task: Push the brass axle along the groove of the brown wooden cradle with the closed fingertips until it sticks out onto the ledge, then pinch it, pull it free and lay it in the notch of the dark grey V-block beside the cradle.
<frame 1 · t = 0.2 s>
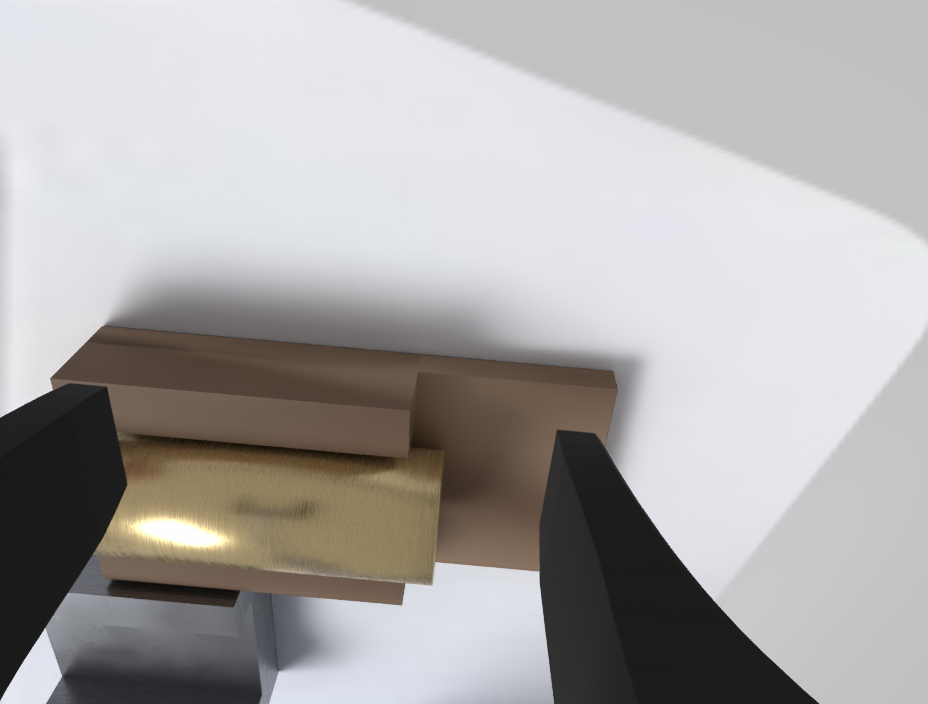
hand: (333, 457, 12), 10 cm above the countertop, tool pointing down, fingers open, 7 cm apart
brass axle: (242, 499, 22), point 3 cm above the countertop, touching brown wooden cradle
v block: (172, 598, 29), on the countertop
brown wooden cradle: (328, 446, 24), on the countertop
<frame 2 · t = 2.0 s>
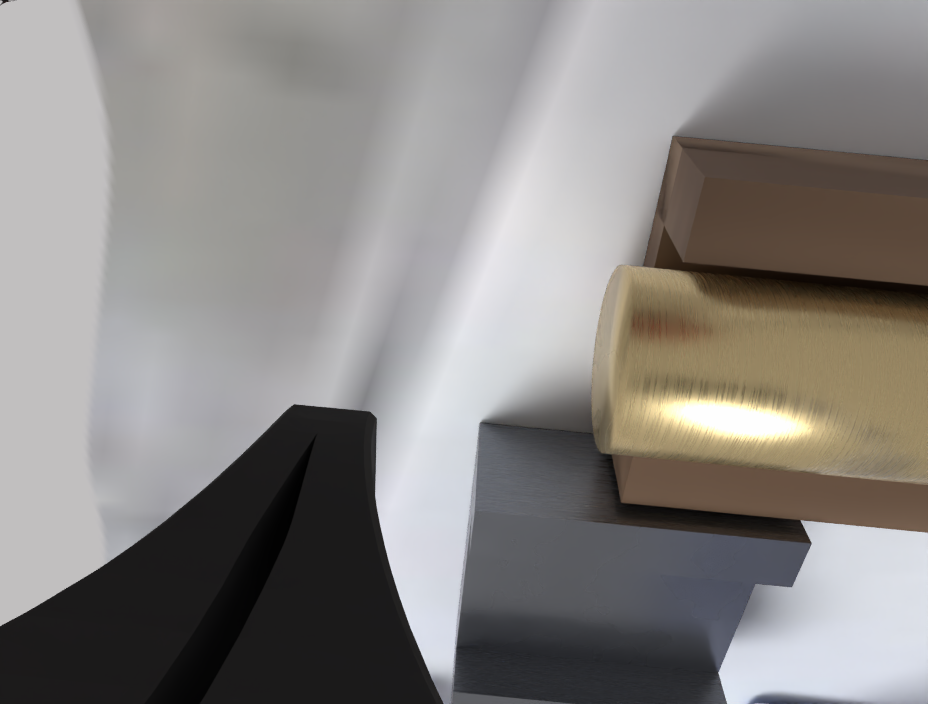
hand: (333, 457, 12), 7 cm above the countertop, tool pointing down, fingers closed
brass axle: (891, 386, 15), point 3 cm above the countertop, touching brown wooden cradle
v block: (596, 546, 22), on the countertop
brown wooden cradle: (917, 325, 18), on the countertop
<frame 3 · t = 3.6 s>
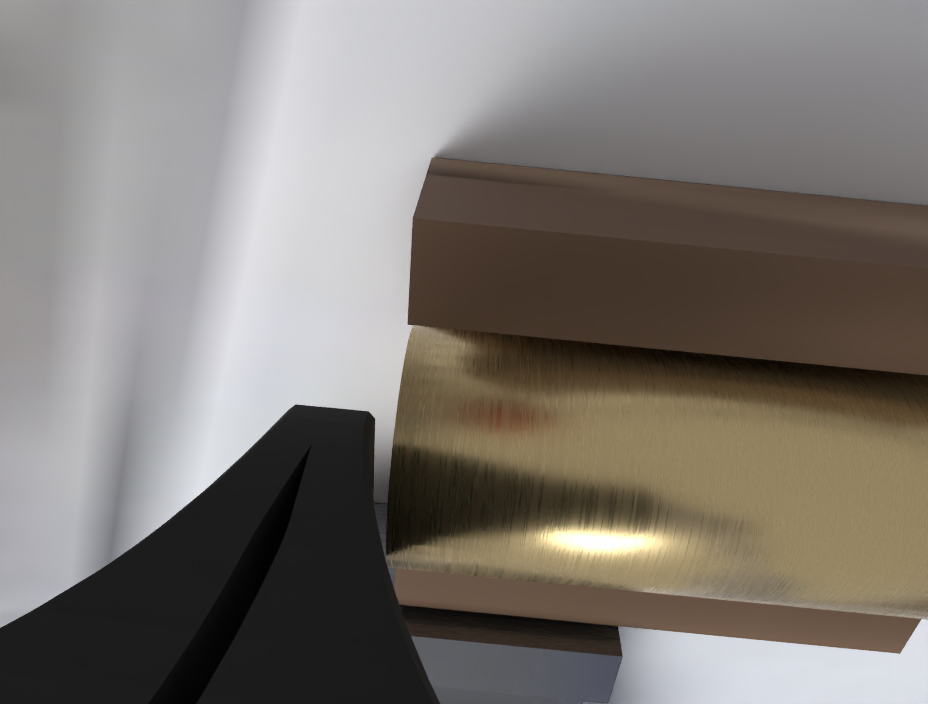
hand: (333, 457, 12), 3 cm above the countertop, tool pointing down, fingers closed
brass axle: (759, 478, 12), point 3 cm above the countertop, touching gripper, brown wooden cradle
v block: (422, 628, 19), on the countertop
brown wooden cradle: (761, 385, 15), on the countertop
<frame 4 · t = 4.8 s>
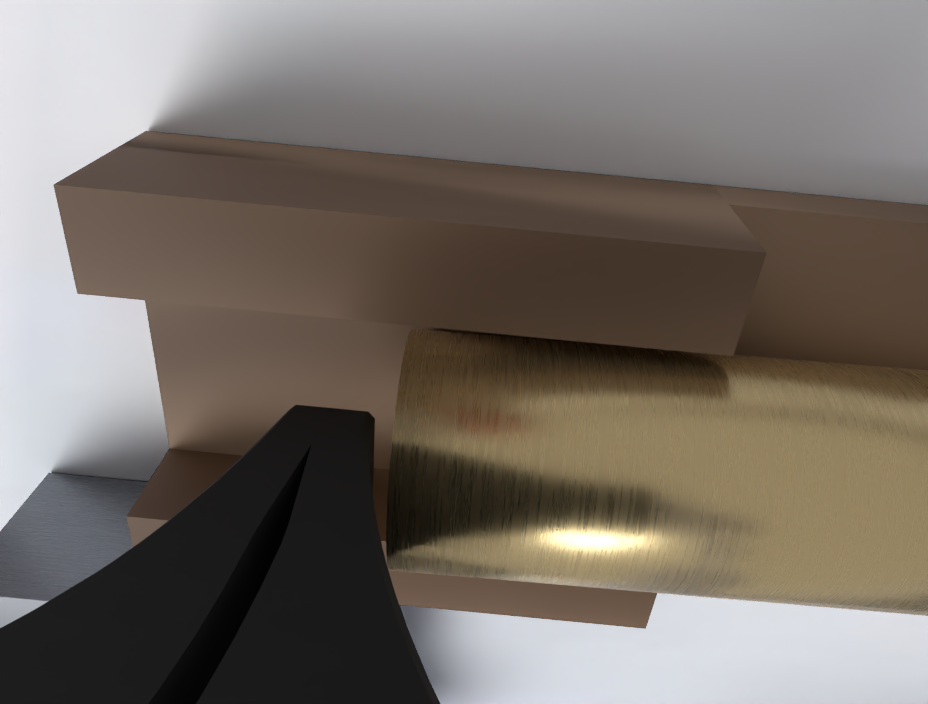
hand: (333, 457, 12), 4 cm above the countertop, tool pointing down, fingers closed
brass axle: (759, 476, 12), point 3 cm above the countertop, touching gripper, brown wooden cradle
v block: (233, 610, 19), on the countertop
brown wooden cradle: (516, 362, 15), on the countertop
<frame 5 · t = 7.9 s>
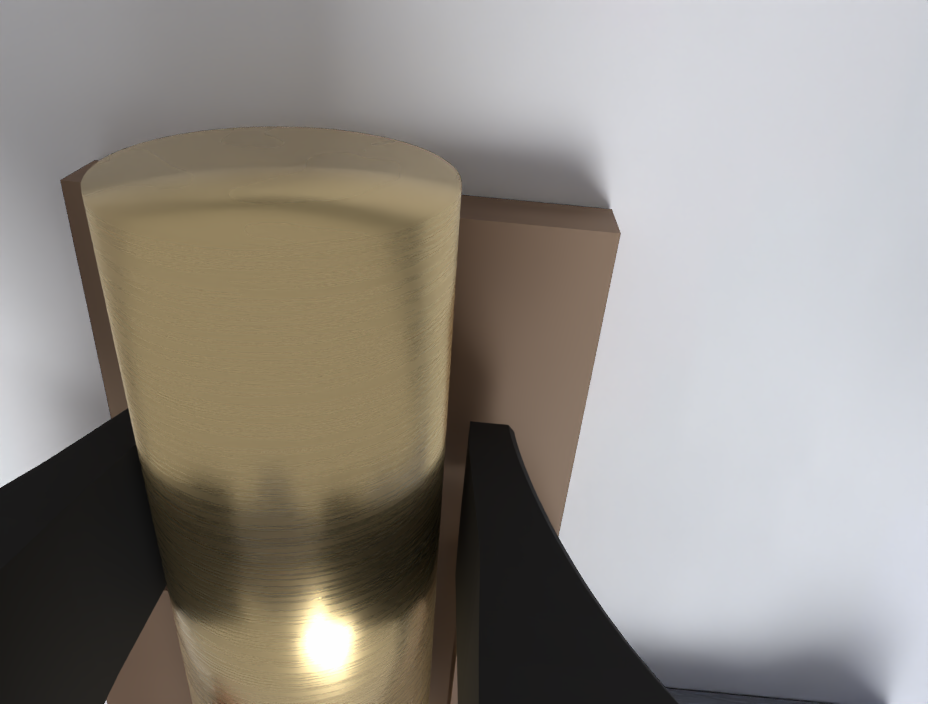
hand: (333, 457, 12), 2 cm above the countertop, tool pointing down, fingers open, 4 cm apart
brass axle: (307, 556, 11), point 3 cm above the countertop, touching gripper, brown wooden cradle
brown wooden cradle: (352, 585, 16), on the countertop
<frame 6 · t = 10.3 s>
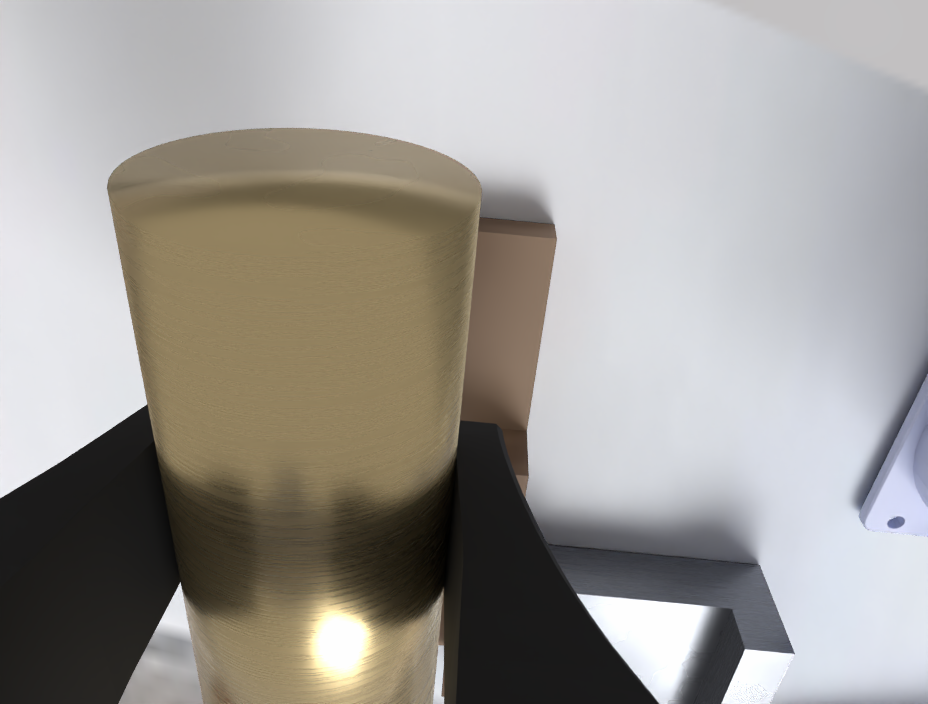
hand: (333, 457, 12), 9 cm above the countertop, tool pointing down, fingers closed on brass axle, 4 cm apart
brass axle: (318, 552, 11), point 10 cm above the countertop, touching gripper
v block: (614, 629, 27), on the countertop
brown wooden cradle: (391, 474, 23), on the countertop
when the fingers open (4 cm above the countertop, at t = 12.6 s): brass axle drops 1 cm, resting on v block.
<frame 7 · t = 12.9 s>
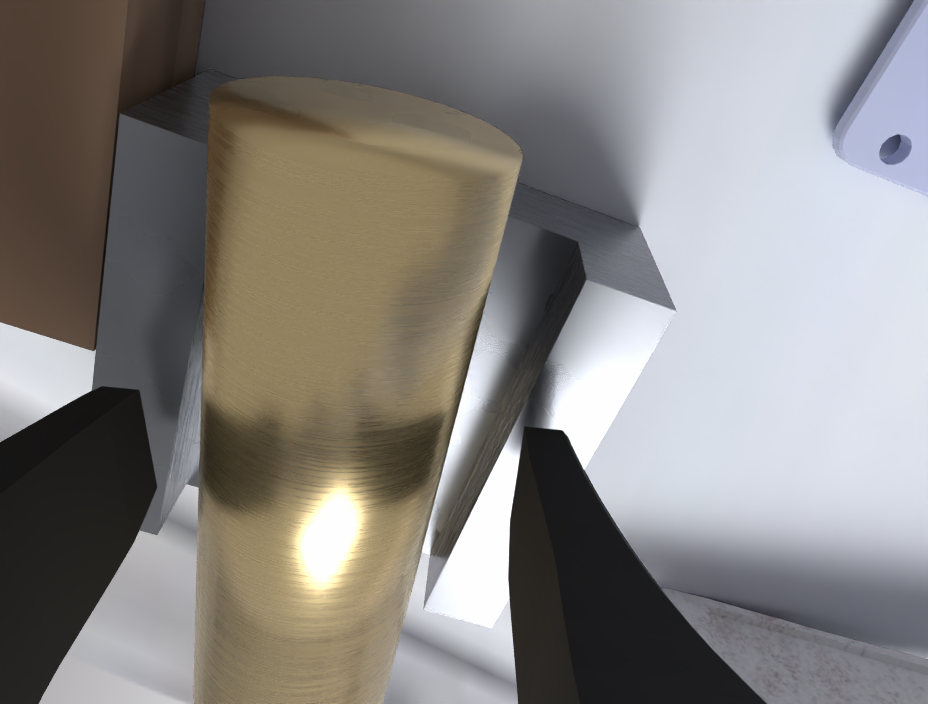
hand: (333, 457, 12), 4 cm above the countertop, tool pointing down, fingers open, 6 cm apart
brass axle: (322, 469, 12), point 4 cm above the countertop, tilted 9°, touching v block
v block: (375, 326, 15), on the countertop
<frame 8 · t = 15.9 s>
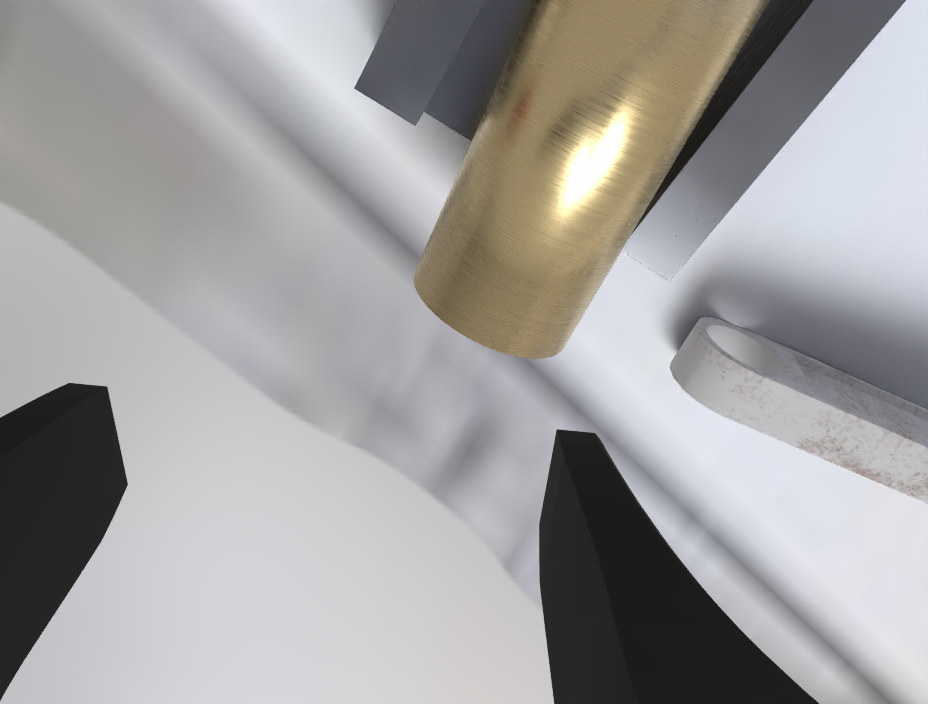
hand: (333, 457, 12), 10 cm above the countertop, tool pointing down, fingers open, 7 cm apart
brass axle: (615, 62, 14), point 4 cm above the countertop, touching v block
v block: (609, 8, 17), on the countertop
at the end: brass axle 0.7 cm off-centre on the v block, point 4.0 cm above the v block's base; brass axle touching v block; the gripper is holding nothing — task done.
